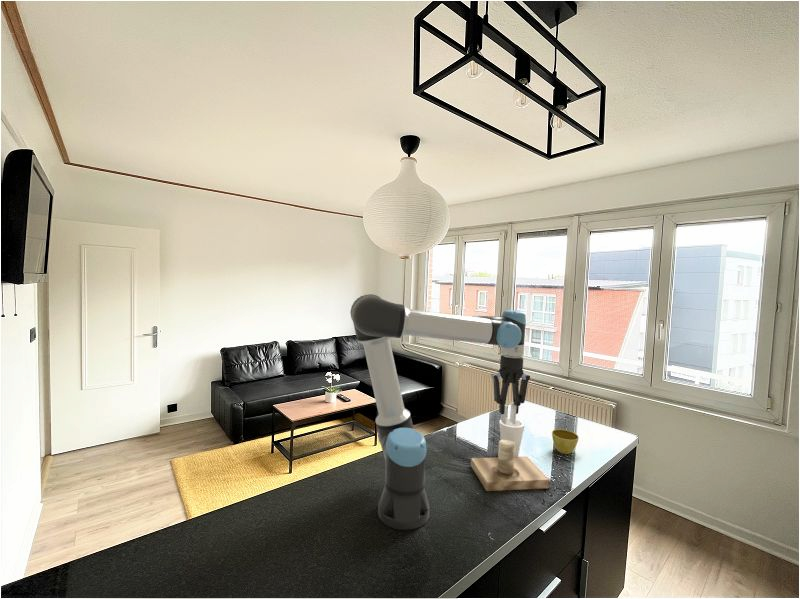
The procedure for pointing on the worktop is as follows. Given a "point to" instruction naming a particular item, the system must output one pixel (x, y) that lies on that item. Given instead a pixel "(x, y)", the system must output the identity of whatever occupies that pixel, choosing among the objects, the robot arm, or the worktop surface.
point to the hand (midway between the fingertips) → (508, 422)
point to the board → (522, 477)
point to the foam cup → (512, 433)
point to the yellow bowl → (564, 440)
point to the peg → (506, 457)
